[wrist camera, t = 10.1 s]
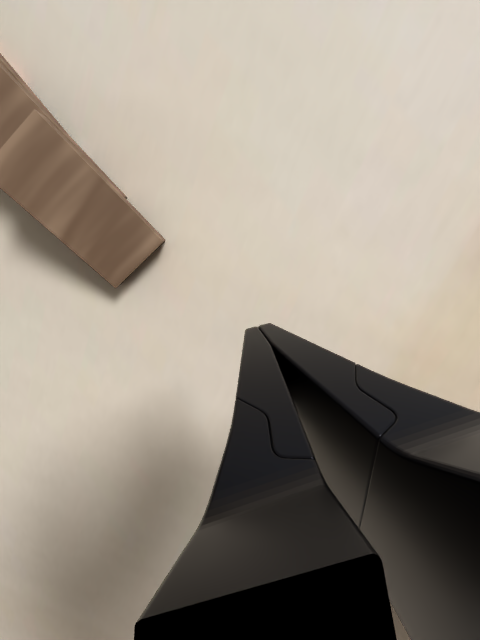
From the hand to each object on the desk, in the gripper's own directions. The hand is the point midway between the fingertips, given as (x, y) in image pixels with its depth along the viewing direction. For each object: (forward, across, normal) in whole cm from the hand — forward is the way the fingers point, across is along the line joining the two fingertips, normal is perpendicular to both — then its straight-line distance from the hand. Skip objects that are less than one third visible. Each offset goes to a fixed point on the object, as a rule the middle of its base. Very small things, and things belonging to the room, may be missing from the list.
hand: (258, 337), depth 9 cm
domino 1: (+14, +5, +1) cm, 15 cm away
